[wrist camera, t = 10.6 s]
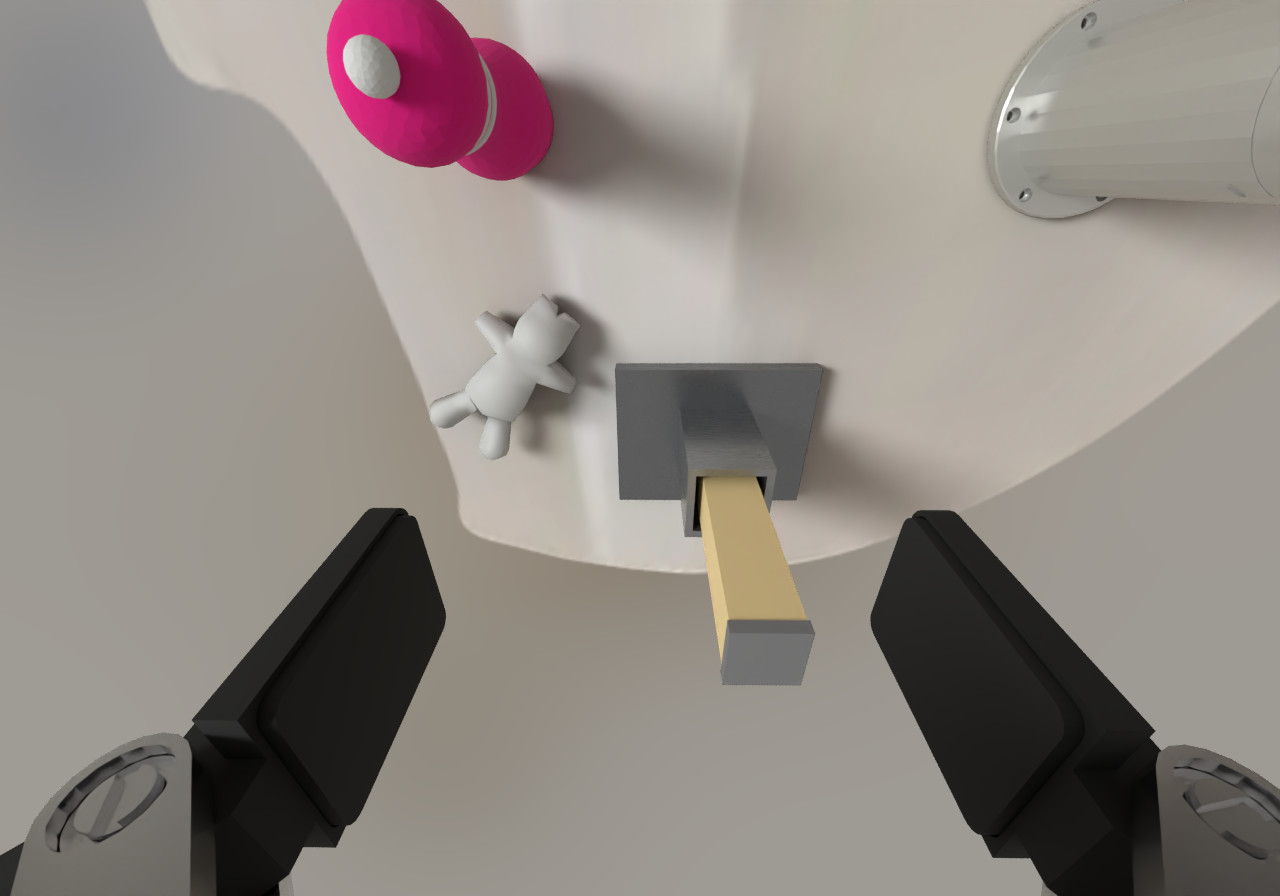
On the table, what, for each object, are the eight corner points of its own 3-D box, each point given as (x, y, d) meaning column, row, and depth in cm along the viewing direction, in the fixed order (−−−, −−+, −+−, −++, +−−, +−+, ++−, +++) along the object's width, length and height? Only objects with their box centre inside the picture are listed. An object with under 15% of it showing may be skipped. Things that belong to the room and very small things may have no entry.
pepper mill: (566, 177, 35) (487, 180, 18) (471, 182, 35) (299, 190, 18) (553, 52, 31) (435, -101, 14) (446, 59, 31) (200, -83, 14)
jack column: (750, 456, 37) (815, 633, 23) (744, 500, 40) (799, 687, 25) (698, 456, 38) (729, 633, 23) (695, 500, 40) (722, 686, 25)
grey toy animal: (605, 354, 38) (501, 481, 42) (606, 340, 42) (511, 456, 47) (506, 273, 35) (404, 419, 39) (518, 268, 39) (425, 399, 43)
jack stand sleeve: (817, 363, 42) (875, 428, 31) (792, 491, 49) (832, 579, 38) (616, 363, 42) (605, 428, 31) (620, 490, 49) (612, 578, 38)
